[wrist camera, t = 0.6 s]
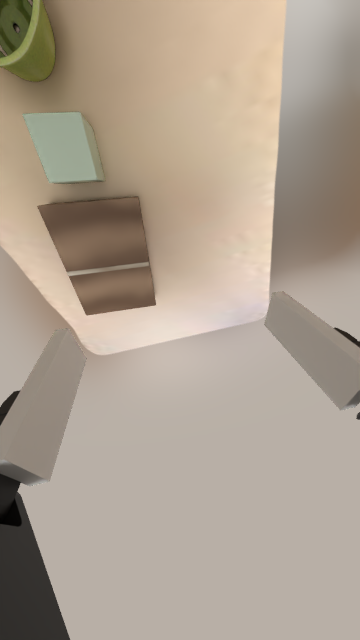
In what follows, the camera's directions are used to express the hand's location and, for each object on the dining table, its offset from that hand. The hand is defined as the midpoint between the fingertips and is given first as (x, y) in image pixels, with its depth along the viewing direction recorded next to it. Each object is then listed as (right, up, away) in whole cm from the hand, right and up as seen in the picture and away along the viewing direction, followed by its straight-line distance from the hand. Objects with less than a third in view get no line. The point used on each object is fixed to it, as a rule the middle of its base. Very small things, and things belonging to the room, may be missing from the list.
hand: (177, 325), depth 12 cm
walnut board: (-11, +11, +18) cm, 24 cm away
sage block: (-13, +21, +11) cm, 27 cm away
